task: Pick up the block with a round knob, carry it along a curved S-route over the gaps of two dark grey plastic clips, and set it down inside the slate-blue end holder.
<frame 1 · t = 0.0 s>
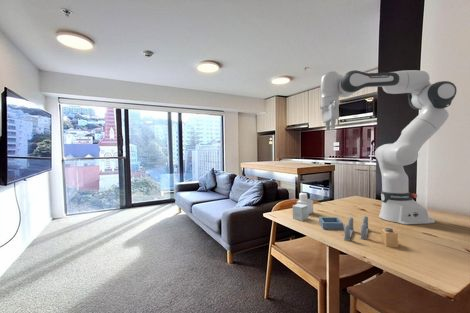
hand: (330, 129, 117), 48 cm above the table, fingers open, 8 cm apart
product box: (300, 218, 120), on the table
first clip: (364, 233, 96), on the table
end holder: (330, 225, 107), on the table
block with round knob: (389, 244, 85), on the table
medicine bottle: (305, 213, 130), on the table
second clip: (349, 235, 95), on the table
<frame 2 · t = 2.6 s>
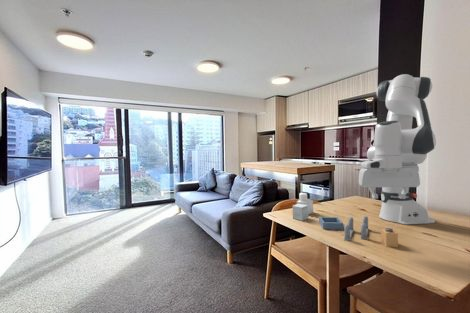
hand: (388, 198, 84), 18 cm above the table, fingers open, 8 cm apart
nothing on the table moved.
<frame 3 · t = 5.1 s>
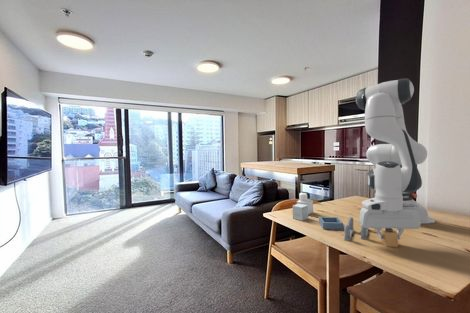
hand: (389, 238, 85), 2 cm above the table, fingers closed on block with round knob, 4 cm apart
block with round knob: (389, 244, 85), on the table, touching gripper
everything else where it was.
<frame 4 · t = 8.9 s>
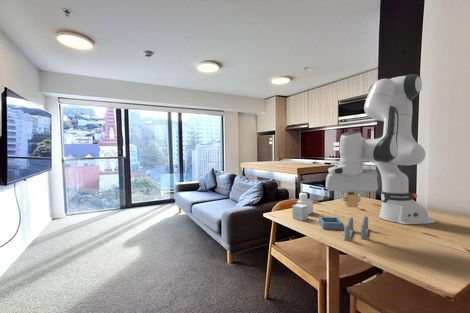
hand: (351, 201, 94), 15 cm above the table, fingers closed on block with round knob, 4 cm apart
block with round knob: (351, 206, 94), point 13 cm above the table, touching gripper
everything else where it was.
when the fingers open (5 cm above the table, at t = 13.0 s): block with round knob drops 2 cm, resting on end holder.
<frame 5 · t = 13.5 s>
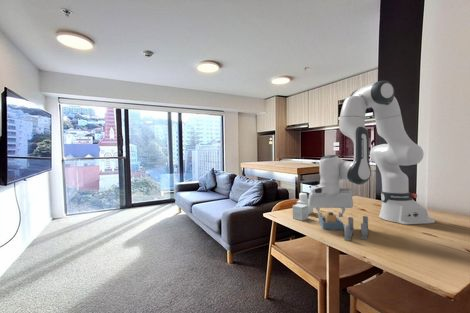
hand: (330, 216, 107), 5 cm above the table, fingers open, 8 cm apart
block with round knob: (330, 224, 107), point 1 cm above the table, touching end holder
everything else where it was.
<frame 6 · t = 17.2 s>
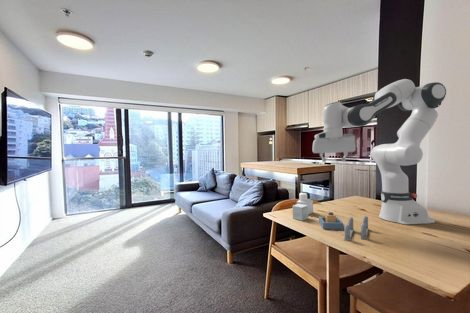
hand: (333, 161, 112), 31 cm above the table, fingers open, 8 cm apart
nothing on the table moved.
at the end: block with round knob 0.1 cm off-centre on the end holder, point 0.6 cm above the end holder's base; block with round knob tilted 0°; the gripper is holding nothing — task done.
